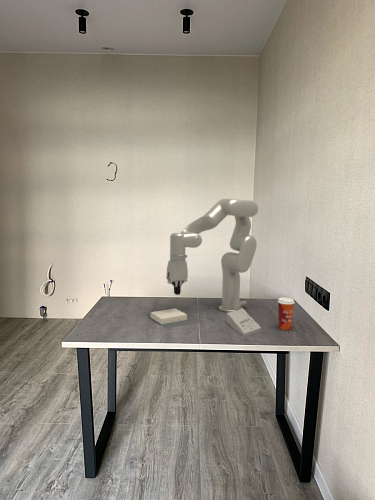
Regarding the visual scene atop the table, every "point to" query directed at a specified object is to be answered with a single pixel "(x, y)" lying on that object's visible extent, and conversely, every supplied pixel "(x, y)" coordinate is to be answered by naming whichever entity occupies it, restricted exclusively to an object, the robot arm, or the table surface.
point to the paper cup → (285, 313)
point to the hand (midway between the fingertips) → (177, 294)
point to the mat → (190, 319)
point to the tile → (168, 316)
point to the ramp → (242, 322)
